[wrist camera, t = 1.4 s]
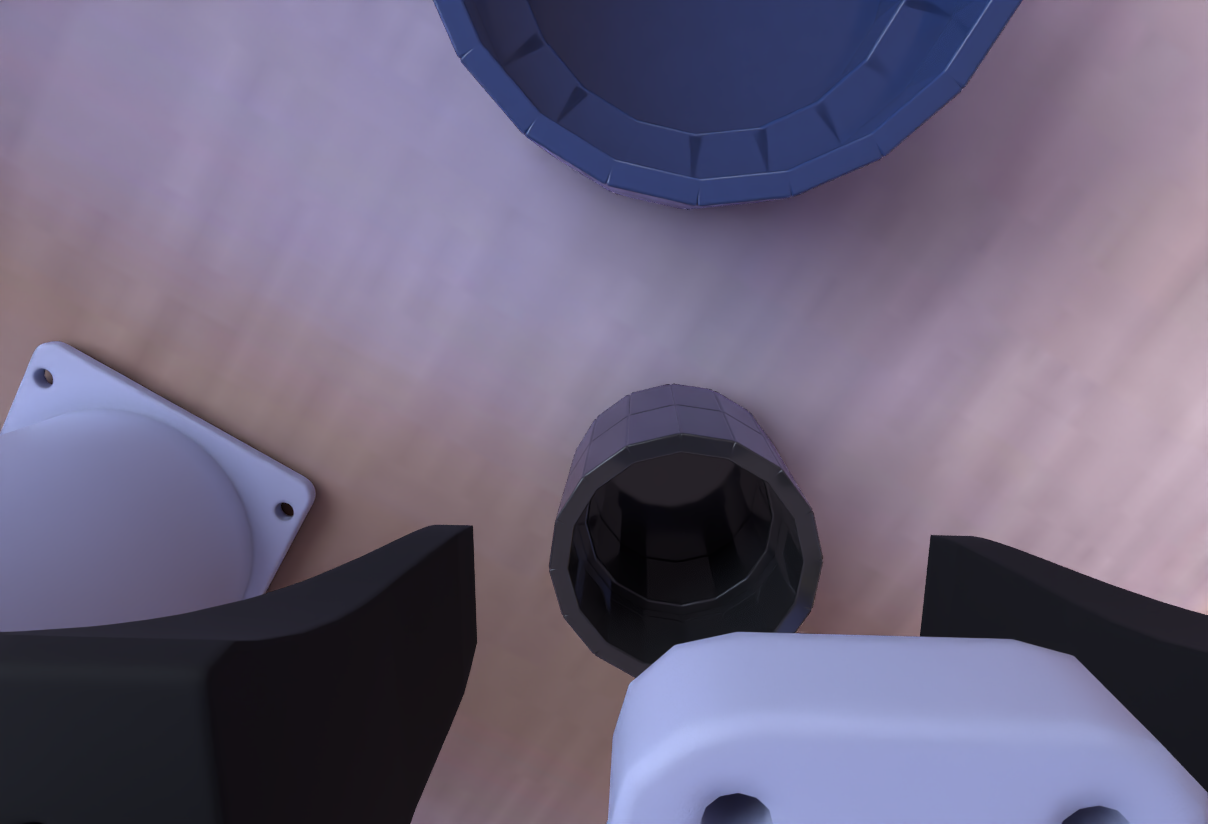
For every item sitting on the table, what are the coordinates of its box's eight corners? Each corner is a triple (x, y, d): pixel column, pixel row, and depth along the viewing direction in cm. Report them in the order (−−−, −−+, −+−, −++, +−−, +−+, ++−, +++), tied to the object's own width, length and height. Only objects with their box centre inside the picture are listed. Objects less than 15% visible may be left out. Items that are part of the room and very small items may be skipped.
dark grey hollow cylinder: (705, 608, 22) (726, 729, 17) (536, 511, 22) (502, 604, 16) (816, 447, 21) (875, 524, 16) (639, 342, 20) (639, 384, 15)
